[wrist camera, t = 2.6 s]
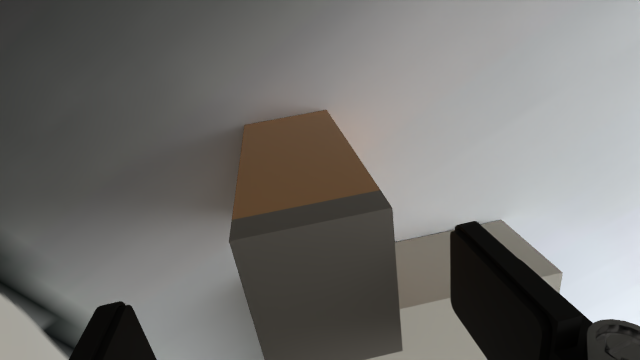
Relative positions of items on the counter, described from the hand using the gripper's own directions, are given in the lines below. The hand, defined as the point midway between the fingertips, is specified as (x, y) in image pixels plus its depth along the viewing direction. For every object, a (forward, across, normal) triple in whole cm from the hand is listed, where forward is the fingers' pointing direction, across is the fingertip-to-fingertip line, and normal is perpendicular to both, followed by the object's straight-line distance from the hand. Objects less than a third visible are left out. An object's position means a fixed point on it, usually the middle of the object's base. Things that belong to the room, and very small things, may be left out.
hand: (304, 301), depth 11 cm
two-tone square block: (+9, -1, -1) cm, 9 cm away
